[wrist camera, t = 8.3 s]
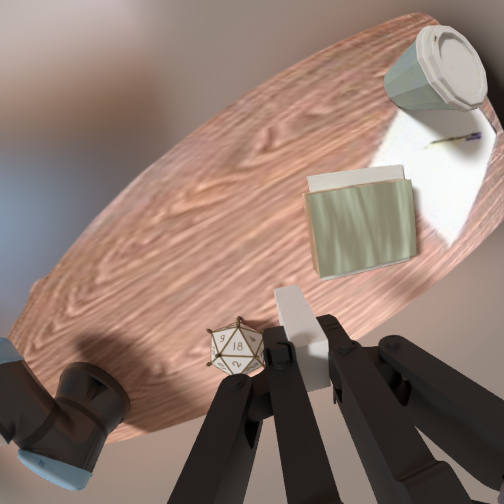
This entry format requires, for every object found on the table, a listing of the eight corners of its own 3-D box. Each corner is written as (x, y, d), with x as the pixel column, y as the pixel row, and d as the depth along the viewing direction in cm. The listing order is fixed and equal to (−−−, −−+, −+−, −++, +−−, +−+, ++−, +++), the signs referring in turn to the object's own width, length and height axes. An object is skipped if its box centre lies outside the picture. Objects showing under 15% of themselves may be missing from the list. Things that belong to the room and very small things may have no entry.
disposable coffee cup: (433, 83, 30) (495, 60, 15) (420, 138, 32) (491, 129, 18) (377, 47, 29) (430, 3, 14) (360, 102, 31) (421, 68, 17)
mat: (322, 279, 37) (323, 280, 37) (306, 176, 34) (307, 176, 33) (407, 259, 37) (409, 260, 36) (399, 164, 33) (401, 164, 33)
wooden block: (320, 278, 33) (416, 254, 32) (308, 195, 30) (411, 179, 30) (313, 268, 36) (403, 248, 36) (301, 193, 34) (397, 178, 33)
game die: (246, 313, 43) (289, 321, 34) (244, 365, 42) (285, 383, 33) (192, 314, 38) (226, 325, 29) (192, 371, 37) (225, 397, 28)
